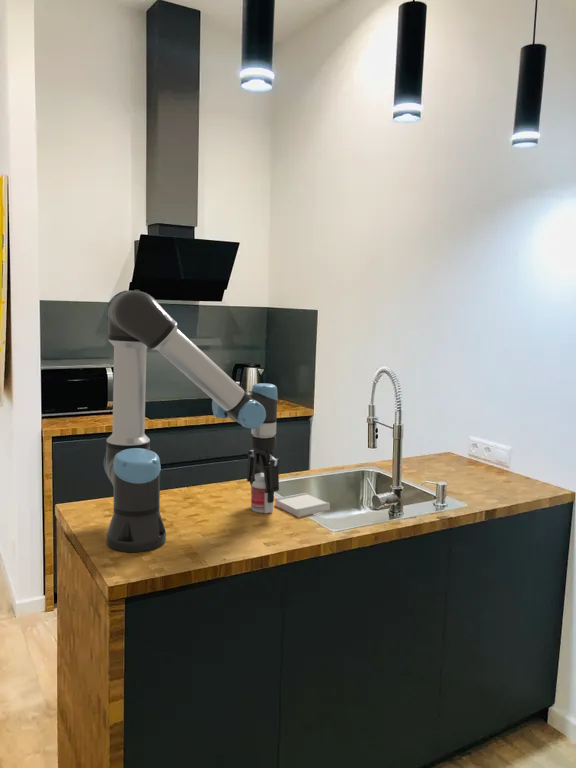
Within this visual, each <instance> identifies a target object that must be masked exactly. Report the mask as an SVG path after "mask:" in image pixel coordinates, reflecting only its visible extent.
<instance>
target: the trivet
mask: <svg viewBox="0 0 576 768" xmlns="http://www.w3.org/2000/svg"><path fill="white" fill-rule="evenodd" d="M274 501H275V502H274V503H275V507H276V508H277V507H278V508H279V509H282V510H284V511H285V512H287V513H289V514H290V515H291V514H292V515H293V516H295V517H297V518H301V517H306V516H309V514H310V515H315V514H318V513H324V512H327V511H330V506H331V504H330V502H327V501H324V500H321V499H320V498H317V497H315V496H312V495H310V494H309V493H307V492H301V493H297V494H292V495H286V496H281V497H277V498H275V499H274Z"/></svg>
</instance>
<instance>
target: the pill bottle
mask: <svg viewBox="0 0 576 768" xmlns="http://www.w3.org/2000/svg"><path fill="white" fill-rule="evenodd" d="M264 491H266V485H265V478H264V472H261V473H256V474H255V481H254V482H253V483H252V499H250V508H251V510H252V511H253V512H255V513H264V496H265V492H264ZM264 514H265V513H264Z"/></svg>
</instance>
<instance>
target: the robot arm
mask: <svg viewBox="0 0 576 768" xmlns="http://www.w3.org/2000/svg"><path fill="white" fill-rule="evenodd" d="M105 315H106V319H107V322H108V330H107V331H108V338H107V339H108V340H107V341H108V342H109V343H110V344H111V345H112V346H113V381H112V382H113V383H112V384H113V386H112V387H113V389H112V390H113V391H112V393H113V395H112V432H111V434H110V435H109V436H108V437H107V438H106V448H105V449H106V450H105V451H106V452H105V455H104V459H103V468H104V472H105V474H106V476H107V478H108V479H109V481H110V482H111V484H112V487H113V512H112V513H113V514H112V516H111V520H110V522H109V526H108V529H107V531H106V545H107V546H108V547H109V548H110V549H112V550H115V551H120V552H127V553H137V552H138V553H139V552H140V553H141V552H146V551H151V550H155V549H157V548H159V547H161V546H163V545H164V544H165V543H166V541H167V530H166V528H165V527H166V526H165V524H164V521H163V518H162V515H161V511H160V505H161V504H160V500H161V499H160V497H161V496H160V495H161V494H160V493H161V490H160V489H161V470H162V469H161V467H162V466H161V459H160V456H159V455H158V454H157V453H156V452H155V451H153V450H150V449H151V446H150V445H151V444H150V443H151V440H150V438H149V437H148V435H146V433H145V431H146V430H145V425H146V424H145V422H146V421H145V420H146V391H147V390H146V388H147V387H146V385H147V384H146V382H147V381H146V380H147V352H148V351H147V349H149V350H151V351H157V352H159V353H160V354H161V355H162V356H163V357H164V358H165V359H167V361H169V362H170V364H172V365H173V366H174V367H175V368H177V369H178V370H179V371H180V372H181V373H182V374H184V376H185V377H187V378H188V379H189V380H190V381H191V382H193V384H195V385H196V386H197V387H198V388H199V389H201V391H202V392H203V393H205V394H206V395H207V396H208V397H209V398H211V400H212V401H211V410H212V413H213V415H214V417H215V418H216V419H225V420H226V419H231V420H232V421H234V422H237V423H238V424H240V425H241V427H243V428H247V429H251V431H250V433H251V436H250V437H251V439H250V447H251V448H252V449H250V450H248V451H247V457H248V458H247V459H248V460H247V470H246V471H247V473H246V474H247V475H246V481H247V482H249V485H250V495H251V496H250V498H251V499H252V483H253V482H254V481H255V474H256V473H264V478H265V485H266V491H264V492H265V496H264V514H270V513H273V511H274V503H275V502H274V501H275V498H274V497H275V496H274V495H275V492H278V491H280V488H279V487H280V486H279V483H280V481H279V480H280V479H279V478H280V475H279V467H280V466H279V465H280V459H279V458H275V457H274V453H273V451H274V450H275V449H276V447H277V436H276V435H277V418H278V417H277V416H278V414H277V413H278V400H279V399H278V397H279V396H278V388H277V387H278V386H276V385H275V384H273V383H266V382H265V383H263V382H262V383H261V382H260V383H255V384H253V385H252V389H251V390H249V391H245V390H244V389H243V387H241V386H240V385H239V384H238V383H236V381H235V380H233V378H231V377H230V376H229V374H227V373H226V372H225V371H224V370H223V369H222V368H221V367H219V366H218V365H217V363H215V362H214V361H213V360H212V359H211V358H210V357H209V356H207V355H206V353H204V352H203V351H202V349H200V348H199V347H198V346H197V345H196V344H195V343H194V342H193V341H191V340H190V339H189V338H188V336H186V335H185V334H184V333H183V332H182V331H181V330H180V329H179V328H178V323H177V321H176V320H175V319H174V318H172V316H171V315H170V314H169V313H168V312H167V311H166V310H165V309H164V308H163V307H162V306H161V304H159V303H158V301H157V300H156V299H155V297H153V296H151V294H148V293H147V292H144V291H139V290H130V289H129V290H123V291H122V290H121V291H119V292H118V293H116V294H114V296H112V297H111V298H110V300H109V302H108V304H107V306H106V312H105ZM262 471H263V472H262ZM251 499H250V500H251Z"/></svg>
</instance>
